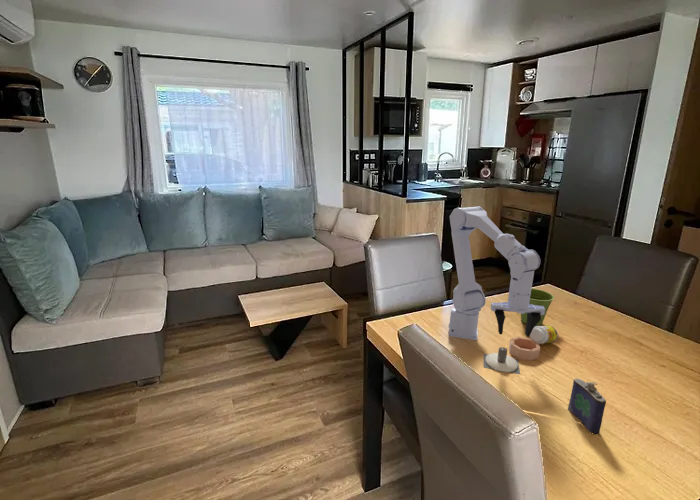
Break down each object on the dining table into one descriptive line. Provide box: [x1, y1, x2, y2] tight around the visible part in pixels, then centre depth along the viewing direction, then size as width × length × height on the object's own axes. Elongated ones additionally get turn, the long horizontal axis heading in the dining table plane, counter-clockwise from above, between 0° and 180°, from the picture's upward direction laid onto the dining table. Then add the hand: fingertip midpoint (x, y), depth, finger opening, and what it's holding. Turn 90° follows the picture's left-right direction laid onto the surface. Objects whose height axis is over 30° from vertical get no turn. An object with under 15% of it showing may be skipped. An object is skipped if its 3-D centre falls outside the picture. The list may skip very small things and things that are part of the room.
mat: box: [483, 353, 521, 375], centre depth 115 cm, size 10×8×1 cm
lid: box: [485, 346, 519, 373], centre depth 114 cm, size 9×9×5 cm
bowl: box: [508, 336, 541, 361], centre depth 121 cm, size 8×8×4 cm
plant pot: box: [520, 288, 555, 327], centre depth 141 cm, size 12×12×11 cm
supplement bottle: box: [529, 325, 559, 345], centre depth 125 cm, size 6×6×10 cm
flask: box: [567, 378, 607, 435], centre depth 91 cm, size 9×3×11 cm, turn 8°
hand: (513, 334), depth 114 cm, fingers open, 7 cm apart
